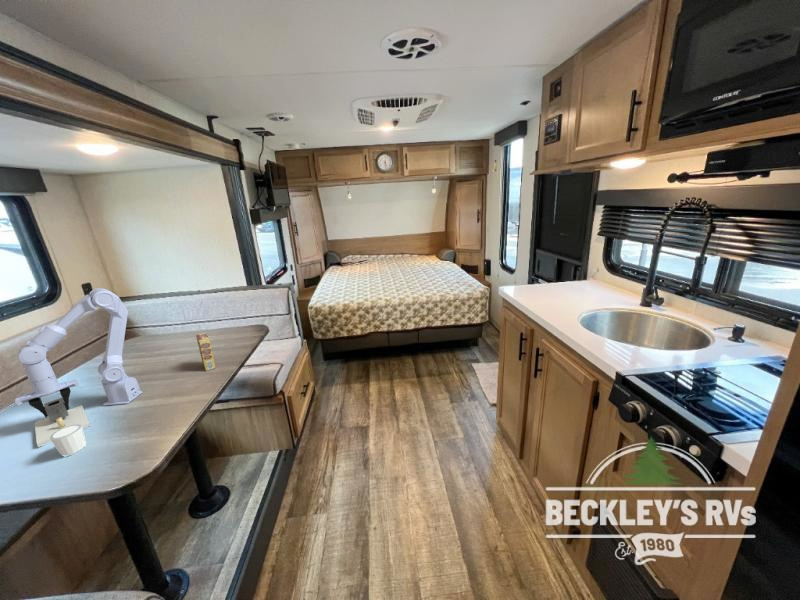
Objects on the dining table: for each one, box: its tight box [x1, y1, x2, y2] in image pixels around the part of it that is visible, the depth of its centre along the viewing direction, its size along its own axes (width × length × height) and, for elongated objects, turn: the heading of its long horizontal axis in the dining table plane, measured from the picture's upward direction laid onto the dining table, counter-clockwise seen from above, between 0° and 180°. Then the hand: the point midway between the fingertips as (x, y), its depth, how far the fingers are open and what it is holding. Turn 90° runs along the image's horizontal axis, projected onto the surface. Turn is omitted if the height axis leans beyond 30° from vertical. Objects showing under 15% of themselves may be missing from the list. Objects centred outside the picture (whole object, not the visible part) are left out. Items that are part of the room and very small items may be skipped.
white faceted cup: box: [50, 424, 87, 456], centre depth 94 cm, size 7×7×7 cm
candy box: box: [195, 332, 216, 371], centre depth 142 cm, size 9×4×15 cm, turn 39°
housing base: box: [34, 405, 91, 448], centre depth 107 cm, size 18×12×5 cm, turn 51°
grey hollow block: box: [43, 397, 69, 422], centre depth 108 cm, size 6×4×5 cm
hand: (57, 412), depth 109 cm, fingers closed on grey hollow block, 4 cm apart
